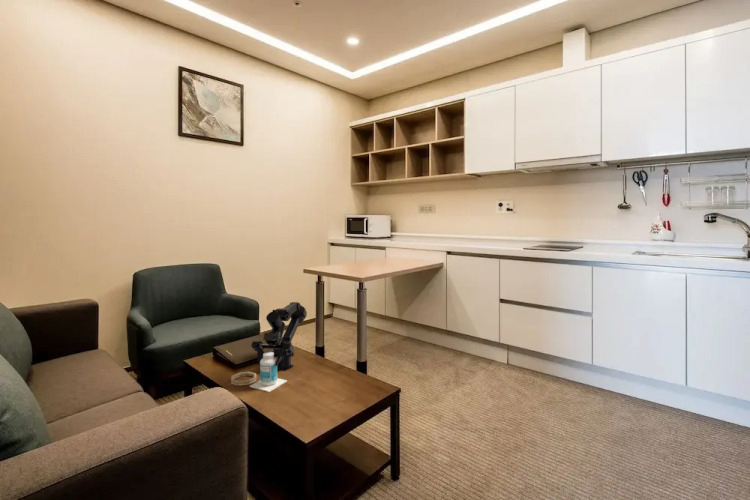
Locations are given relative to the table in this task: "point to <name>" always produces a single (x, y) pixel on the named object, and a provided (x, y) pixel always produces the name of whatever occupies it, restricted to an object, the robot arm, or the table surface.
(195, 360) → the table surface
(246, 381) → the ring holder
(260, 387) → the white square cloth
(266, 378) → the pill bottle
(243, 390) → the table surface
